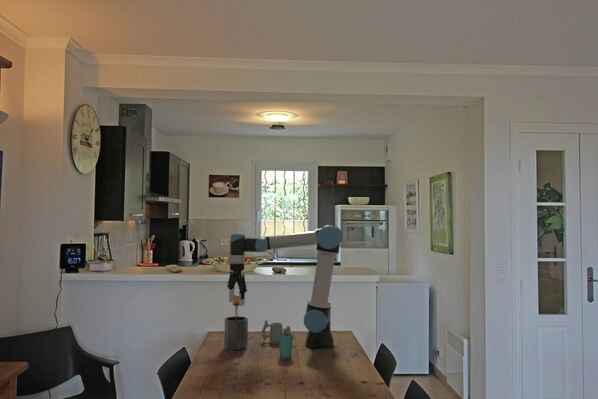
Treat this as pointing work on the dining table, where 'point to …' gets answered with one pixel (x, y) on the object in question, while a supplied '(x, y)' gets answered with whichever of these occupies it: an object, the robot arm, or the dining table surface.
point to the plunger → (236, 305)
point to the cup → (285, 343)
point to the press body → (236, 333)
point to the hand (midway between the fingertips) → (236, 303)
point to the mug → (272, 331)
